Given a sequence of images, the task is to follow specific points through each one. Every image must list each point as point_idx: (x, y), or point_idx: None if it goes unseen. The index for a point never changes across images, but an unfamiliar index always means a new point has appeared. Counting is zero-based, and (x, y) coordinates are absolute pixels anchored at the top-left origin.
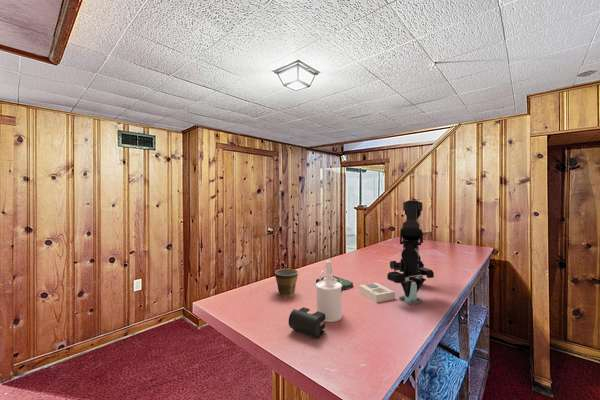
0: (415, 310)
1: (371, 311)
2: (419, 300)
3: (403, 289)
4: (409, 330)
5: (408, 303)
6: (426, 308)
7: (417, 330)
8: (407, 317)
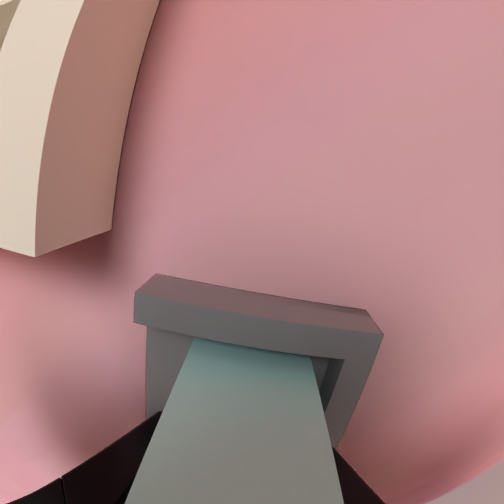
0: None
1: None
2: None
3: (78, 468)
4: (2, 480)
5: (162, 410)
6: None
7: None
8: (34, 459)
